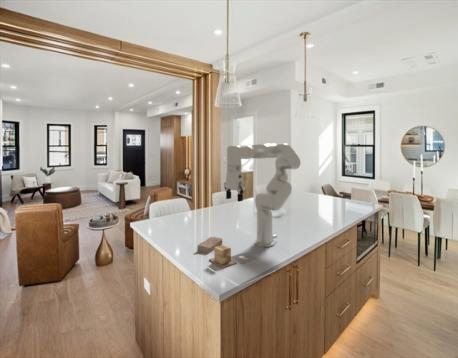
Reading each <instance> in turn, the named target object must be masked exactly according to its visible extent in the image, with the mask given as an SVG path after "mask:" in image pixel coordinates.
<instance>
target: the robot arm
mask: <svg viewBox="0 0 458 358" xmlns="http://www.w3.org/2000/svg"><path fill="white" fill-rule="evenodd" d="M273 158H276V159H275V162H274V163H275V174H274V175H273V177H272V178H271V179H270V181H269V182H268V184H267V186H266V188H265V189H266V192H260V193H258V194H256V196H255V198H254V203H255V208H256V239H255V240H254V241H253V244H255V245H256V246H259V247H265V248H269V247H273V246H275V244H276V242H275V240H274V239H276V238H278V235H277V234H273V211H274V212H277V211H278V212H279V211H280V210H281V209H282V208H283V206H284V205H285V204H286V202H287V201H288V199H289V197H290V195H291V193H292V185H291V183H290V182H288V178H289V177H288V172H287V170H297V169H299V168H300V166H301V159H300V157H299V155H298V154H297V153H296V151H295V150H294V149H293V147H292V146H291V145H290V144H288V143H285V142H284V143H261V144H260V143H259V144H253V145H251V144H250V145H249V144H247V145H228V146H227V148H226V177H225V182H224V183H223V187H224V189H225V192H226V193H225V199H226V200H229V199H232V191H236V192H237V202H243V197H244V196H243V195H244V192H245V190H246V188H247V186H246V185H245V184H244V175H243V171H242V160H250V159H256V160H257V159H259V160H260V159H262V160H263V159H264V160H265V159H273Z"/></svg>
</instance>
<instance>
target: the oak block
mask: <svg viewBox="0 0 458 358" xmlns="http://www.w3.org/2000/svg"><path fill="white" fill-rule="evenodd" d="M213 253H214V255H213V256H214V258H215V261H216V262H218V263H220V264H224V263H227V262H230V261H231V256H232V247H230V246H228V245H226V244H222V245H220V246H217V247H214V250H213Z"/></svg>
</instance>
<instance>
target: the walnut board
mask: <svg viewBox="0 0 458 358" xmlns="http://www.w3.org/2000/svg"><path fill="white" fill-rule="evenodd" d="M208 261H209V262H211V263H213V264H214V265H216V266H217V267H220V268H221V269H227V268H228V267H231V266H234V265H236V264H238V262H237V261H235V260H233V259H231V261H230V262H227V263H224V264H220V263H218V262H216V261H215V257H213V258H209V259H208Z"/></svg>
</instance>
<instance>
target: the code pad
mask: <svg viewBox="0 0 458 358" xmlns="http://www.w3.org/2000/svg"><path fill="white" fill-rule="evenodd" d="M231 259H232V260H234V261H236V262H237V263H239V264H241V265H245V264H247V263H249V262H252V261H255V260H258V259H259V257H257V256H254V255H252V254H249V253H247V252H245V251H244V252H241V253H238V254H235V255H231Z"/></svg>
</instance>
